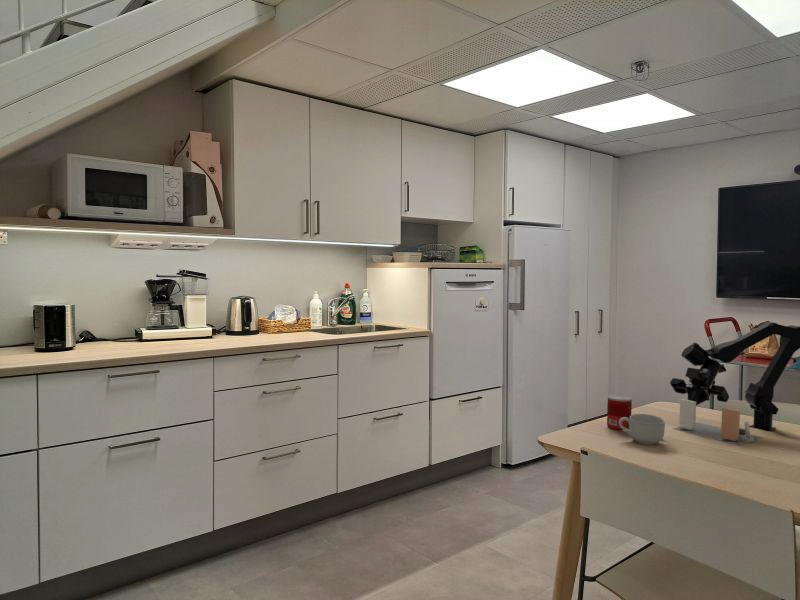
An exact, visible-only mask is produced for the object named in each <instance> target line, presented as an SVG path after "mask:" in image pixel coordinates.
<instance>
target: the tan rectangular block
mask: <svg viewBox="0 0 800 600" xmlns="http://www.w3.org/2000/svg"><path fill="white" fill-rule="evenodd" d="M740 419H741V410H739V409H734V408H729V407H722V409H721V427H720V428H721V435H722V436H721V438H724V439H728V440H732V441H735V440H738V439H739V428H740V421H741V420H740Z"/></svg>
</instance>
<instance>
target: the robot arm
mask: <svg viewBox="0 0 800 600" xmlns="http://www.w3.org/2000/svg"><path fill="white" fill-rule="evenodd" d="M773 335H776V336H779V345H778V346H779V347H778V348H777V350H776V352H775V353H774V355H773V358H772V359H771V361H770V362H769V364H768V365H767V368H766V369H765V371H764V373H763V374H762V376H761V377H760V379H759V381H757V382H756V383H754V382H750V383H749V385H748V388H747V389H746V390H745V391H744V393H745V395H744V399H745V401H746V402H747V404H748V405H749V407H750V409H751V410H753V420H752V421H753V424H751V425H750V424H749V428H752V429H757V430H762V431H766V432H771V431H774V430H777V427H776V426H773V416H774V415H777V414H778V412H779V408H778V406H777V405H775V404H774V403H773V402H772V401H773V398H774V395H775V394H774V393H775V392H774V390H775V387H776V385H777V383H778V382H779V379H780V377H781V376H782V374H783V372H785V369H786V367H787V365H788V364H789V363H790V361H791V358H792V357H793V355H794V354H795V352H797V351H798V350H800V326H799V325H798V326H797V325H793V324H792V325H787V326H786V325H783V324H778V323H777V322H772V321H767V322H764V323H763V324H762V325H760V326H758V327H756V328H754V329H753V330H751V331H748V332H747V333H745V334H743V335H742V336H740V337H737V338H736V339H734V340H729V341H726V342H723V343H722V342H721V343H719V344H717V345H714V346H713V347H712V348H710V349H709V348H708V349H704V348H703V347H701V346H700V344H698V343H697V342H693V343H692V344H690V345H689V346H687V347H685V348H684V349H683V350H682V352H681V357H682V358H684V360H686V361H687V362H689V363H690V364H691V365H692V366H693V367H687V369H686V372H685V375H684V376H685V377H687V378H689V379H688V382H686V381H685V379H682V378H678V377H673V378H672V379H671V380H670V382H669V384H670V386H671V387H672V389H673V392H674V393H677V394H681V395H685V394H687V400H690V401H695V402H696V407H697V406H698V405H700V404H702V403H704V402H706V401H710V397H711V396H712V395H714V396H716V400H717V401H718V402H722V403H723V402H724V403H728V401H729V398H730V395H729V393H728V391H727V389H726V388H725V386H722V385H717V384H716V381H715V379H716V377H717V376H718V374H721V373H724V372H727V369H726V367H725V365H724V364H721V363H720V362H722V363H725V364H727V363H728V364H729V363H731V362H733V361H734V360H735V359H737V358H738V357H739V356H740V355H741V353H742V352H743V351H745V350H747V349H748V348H750V347H752V346H755V345H756V344H758V343H760V342H762V341H763V340H766V339H767V338H768V337H771V336H773ZM719 361H720V362H719ZM694 367H700V368H694Z"/></svg>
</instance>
